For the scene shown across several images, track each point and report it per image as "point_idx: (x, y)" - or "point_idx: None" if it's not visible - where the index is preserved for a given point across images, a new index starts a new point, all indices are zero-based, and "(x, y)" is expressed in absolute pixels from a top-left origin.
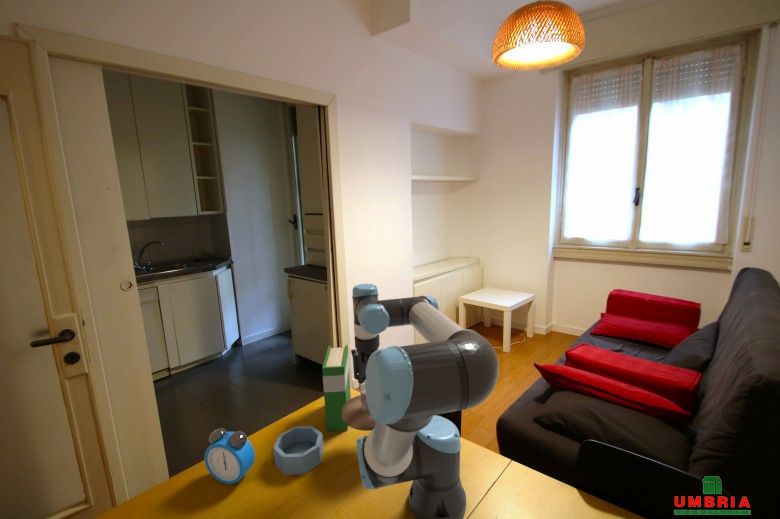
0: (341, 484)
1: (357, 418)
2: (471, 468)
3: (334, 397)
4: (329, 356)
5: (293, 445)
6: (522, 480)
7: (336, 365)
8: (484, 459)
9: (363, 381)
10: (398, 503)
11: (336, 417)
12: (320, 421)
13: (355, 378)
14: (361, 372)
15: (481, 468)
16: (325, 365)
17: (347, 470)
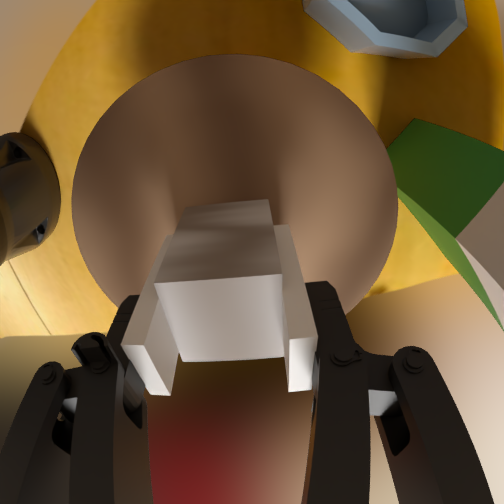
0: (178, 15)
1: (199, 123)
2: (58, 295)
3: (473, 182)
4: None
5: (421, 8)
6: (23, 321)
7: None
8: (69, 324)
9: (313, 377)
10: (44, 117)
11: (417, 154)
12: None
13: (406, 358)
14: (307, 501)
15: (54, 305)
16: None
17: (213, 53)
